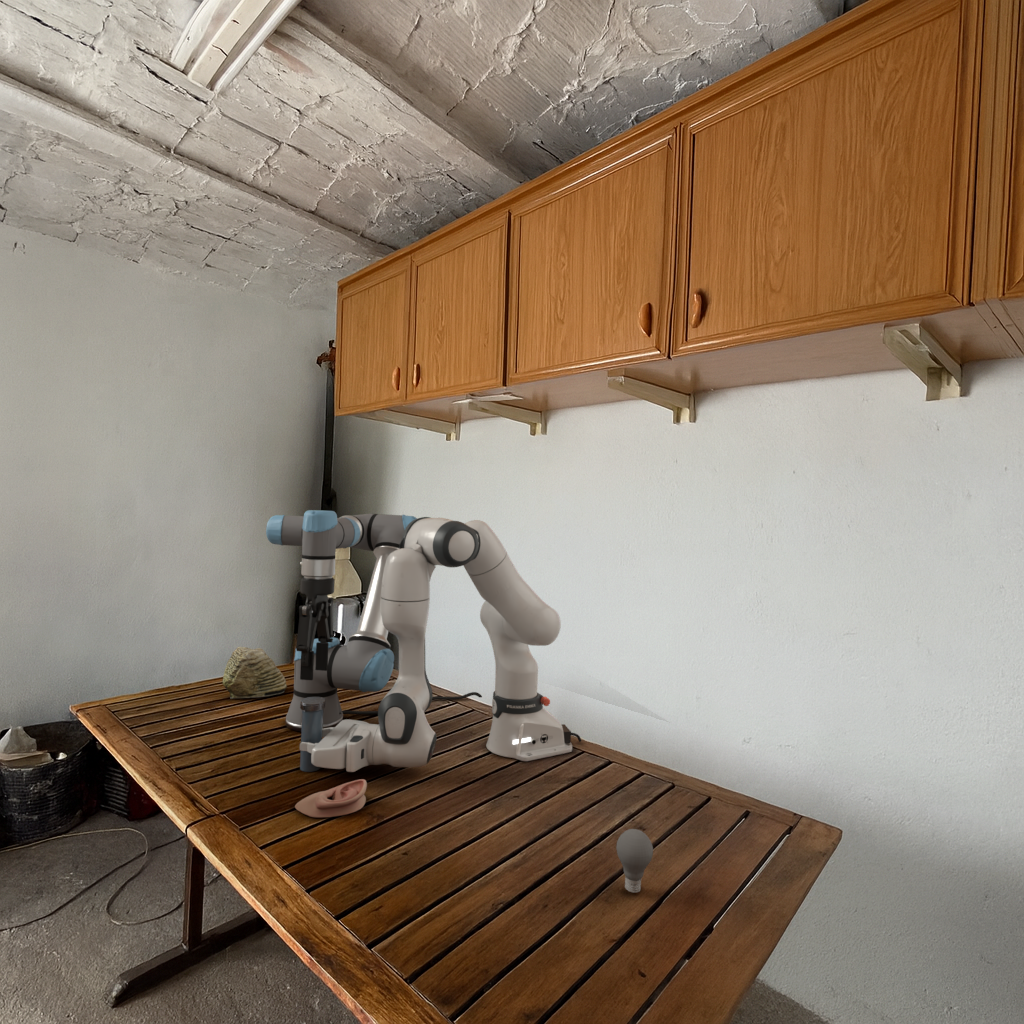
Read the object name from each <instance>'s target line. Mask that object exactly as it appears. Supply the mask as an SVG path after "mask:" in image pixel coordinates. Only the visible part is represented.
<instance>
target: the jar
mask: <svg viewBox="0 0 1024 1024" xmlns="http://www.w3.org/2000/svg"><path fill="white" fill-rule="evenodd" d="M323 711H324V709H322V710H319V711H304V710H302V725H301V731H300V732H301V733H300V743H301V742H303V741H310V743H313V744H315V743H319V742H320V741H321V740H322V739H323V737H322V736H323ZM320 769H322V767H317V766H314V765H313V764H312V763H311V753H309V752H307V751H301V750H300V756H299V770H300V771H301V772H303V773H304V772H305V773H312V772H317V771H319V770H320Z"/></svg>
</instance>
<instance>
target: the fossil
mask: <svg viewBox="0 0 1024 1024" xmlns="http://www.w3.org/2000/svg"><path fill="white" fill-rule="evenodd" d="M222 676H223V677H222V685H223V687H224V688H225V690H226V691H228V693H229V698H230V699H250V698H264V697H271V696H275V695H281V694H284V693H285V691H286V689H287V687H288V686H287V680H286V678H285V676H284V674H283V673H282V672H281V669H279V668H278V667H277V665H276V663H275V662H274V660H273V659H272V658H271V657H270V656H269V655H268V654H267V653H266V652H265V650H264V649H263V648H260V647H258V648H251V647H247V646H246V647H245V646H238V647H237V648H236V649H235V650H233V651H232V653H231V656H230V657H229V659H228V660H227V663H226V666H225V668H224V671H223V675H222Z"/></svg>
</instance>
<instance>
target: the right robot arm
mask: <svg viewBox="0 0 1024 1024" xmlns="http://www.w3.org/2000/svg"><path fill="white" fill-rule="evenodd" d="M401 546H402V549H401ZM437 566H442V567H446V568H458V567H460V568H461V567H462V566H463V568H464V570H465V571H466V573H467V575H468V577H469V578H470V580H471V582H472V583H473V585H474V587H475V589H476V590H477V592H478V594H479V595H480V596H481V598H482V599H483V600H484V602H483V604H482V605H481V608H480V611H479V612H480V613H479V618H480V619H479V620H480V622H481V624H482V626H483V628H485V630H486V632H487V634H488V637H489V639H490V643H491V647H492V651H493V656H494V665H495V669H494V670H495V673H494V675H495V676H494V677H495V678H494V690H493V692H492V700H491V701H492V702H491V713H492V719H491V726H490V729H489V735H488V738H487V741H486V744H485V747H486V748H487V750H488V751H489V752H490V753H493V754H495V755H498V756H500V757H505V758H510V759H511V758H512V759H514V760H515V759H516V760H518V761H521V762H530V761H535V760H540V759H545V758H550V757H553V756H559V755H563V754H568V753H572V752H573V744H572V742H571V741H572V736H573V737H576V738H577V740H578V743H581V742H582V738H581V736H580V735H579V734H577V733H575V732H572V731H571V730H570V729H569V728H568V726H567V725H566V724H564V723H563V724H562V723H561V721H560V720H559V719H558V718H557V717H556V716H554V715H553V714H552V713H551V712H550V711H548V710H547V709H546V708H545V707H548V706H550V705H551V699H549V698H548V697H547V696H544V695H543V694H541V693H539V692H538V685H539V684H538V683H539V677H538V676H539V665H538V662H537V660H536V658H535V657H534V655H533V654H532V652H531V650H530V647H529V646H533V647H534V646H537V647H539V646H542V647H543V646H545V647H546V646H549V645H552V644H553V643H554V642H555V641H556V640H557V638H558V637H559V635H560V632H561V627H562V624H561V623H562V622H561V621H562V620H561V617H560V614H559V613H558V611H557V610H556V609H554V608H553V607H551V606H550V605H549V604H548V603H546V602H545V601H544V600H543V599H542V598H541V597H540V596H539V595H538V594H537V593H536V592H535V590H533V589H532V587H531V586H530V585H529V584H528V583H527V581H525V580H524V578H523V577H522V575H520V572H518V570H517V568H516V566H515V564H514V562H513V561H512V559H511V557H510V555H509V554H508V552H507V550H506V548H505V546H504V545H503V543H502V542H501V539H500V538H499V536H498V535H497V534H496V533H495V532H494V531H493V529H492V528H491V527H490V525H489V524H488V523H486V522H485V521H483V520H480V519H476V520H475V519H474V520H469V521H467V522H462V521H459V520H453V519H450V518H446V517H430V516H422V517H418V518H417V519H415V520H413V521H412V522H410V523H409V524H408V526H407V527H406V529H405V531H404V533H403V536H402V540H401V542H400V544H399V549H398V550H395V551H393V552H392V553H390V554H389V556H388V557H387V559H386V563H385V567H384V572H383V578H382V586H381V617H382V622H383V625H384V627H385V628H386V629H387V630H388V633H390V634H392V635H394V636H395V637H396V639H397V642H398V662H399V663H398V675H397V678H396V680H395V682H394V684H393V686H392V687H391V689H390V690H389V691H388V692H387V693H386V694H385V695H384V696H383V698H382V699H381V701H380V703H379V706H378V709H377V711H378V714H377V718H378V720H377V721H378V724H377V723H369V722H368V721H363V720H357V719H350V718H349V719H347V718H346V719H343V720H342V721H341V722H340V723H339V724H338V725H337V726H336V727H330V728H324V729H323V736H322V740H321V741H320V742H319V743H315V744H313V743H310V741H303V742H301V741H300V743H299V751H300V752H301V751H307V752H309V753H311V763H312V764H313V765H314V766H317V767H321V769H322V768H324V769H330V770H331V769H332V770H344V769H345V771H346V772H347V773H355V772H356V771H359V770H360V769H362V768H364V767H368V766H380V765H388V766H391V767H395V768H422V767H425V766H427V765H428V764H429V763H430V761H431V759H433V758H432V757H433V755H434V752H435V749H436V745H437V733H436V731H434V729H433V728H432V727H431V725H430V724H429V722H428V719H427V717H426V714H425V713H426V712H427V710H428V709H429V708H430V706H431V704H432V702H433V700H432V697H433V689H432V685H431V684H430V681H429V678H428V675H427V670H426V633H427V626H428V620H429V612H430V604H431V602H430V600H431V580H432V579H431V578H432V575H433V573H434V571H435V569H436V567H437Z"/></svg>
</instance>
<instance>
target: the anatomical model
mask: <svg viewBox="0 0 1024 1024" xmlns="http://www.w3.org/2000/svg"><path fill="white" fill-rule="evenodd" d="M367 788H368V782H367V780H366V779H364V778H361V779H355V780H352V781H348V782H345V783H342V784H340V785H337V786H335V787H332V788H329V789H327V790H322V791H317V792H315V793H312V794H310V795H308V796H306V797H304V798H302V799H301V800H299V801H298V802H297V803H296V804H295V805H294V808H295V810H297V811H298V812H299V813H301V814H303V815H306V816H308V817H310V818H317V819H319V818H333V817H340V816H345V815H349V814H353V813H355V812H358V811H360V810H361V809H362V808H364V806H365V804H366V802H367V797H366V795H365V793H366V791H367Z"/></svg>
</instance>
